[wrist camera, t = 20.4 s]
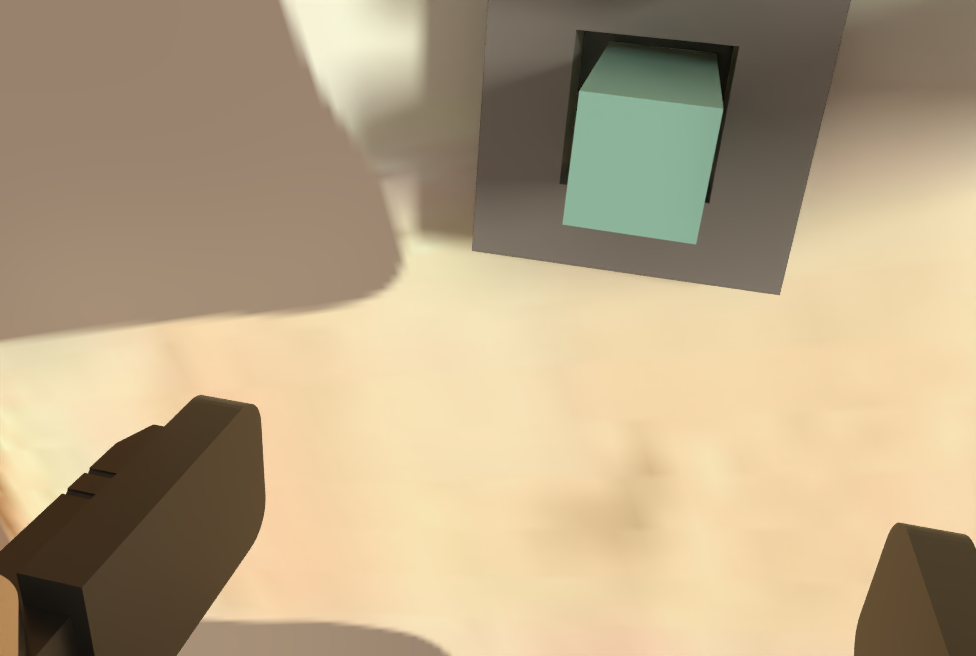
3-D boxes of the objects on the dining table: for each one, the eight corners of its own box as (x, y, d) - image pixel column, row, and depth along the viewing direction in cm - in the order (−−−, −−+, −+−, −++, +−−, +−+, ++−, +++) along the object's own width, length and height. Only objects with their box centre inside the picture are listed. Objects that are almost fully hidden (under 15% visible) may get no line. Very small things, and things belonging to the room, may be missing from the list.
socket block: (773, 265, 36) (779, 295, 33) (487, 226, 38) (472, 250, 35) (895, -258, 28) (916, -274, 25) (524, -275, 30) (507, -292, 27)
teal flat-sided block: (696, 157, 35) (696, 244, 26) (596, 143, 35) (562, 224, 26) (716, 53, 33) (723, 108, 24) (610, 40, 33) (579, 90, 25)
